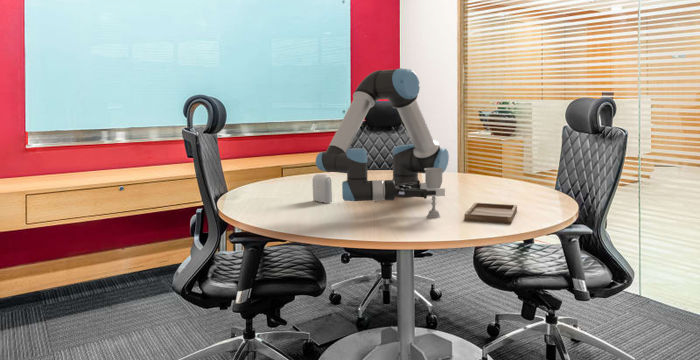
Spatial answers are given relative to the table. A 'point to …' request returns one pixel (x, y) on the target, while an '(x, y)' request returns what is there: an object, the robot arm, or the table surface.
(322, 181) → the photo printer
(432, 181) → the chalice
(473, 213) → the tray
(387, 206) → the table surface
